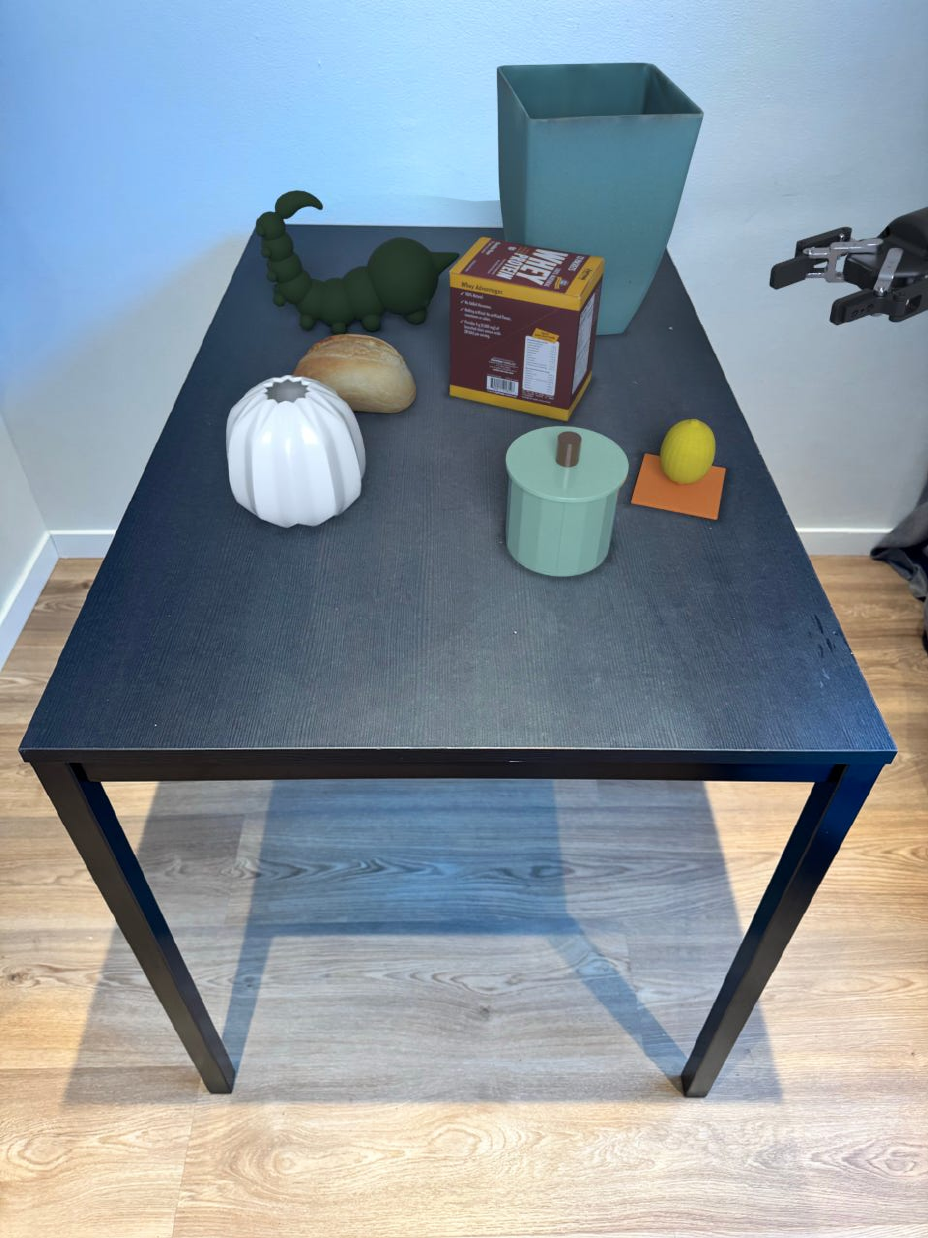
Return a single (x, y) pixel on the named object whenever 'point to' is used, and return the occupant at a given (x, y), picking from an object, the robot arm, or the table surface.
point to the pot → (558, 532)
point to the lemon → (687, 451)
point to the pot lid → (567, 464)
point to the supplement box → (523, 326)
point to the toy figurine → (349, 275)
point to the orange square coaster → (678, 490)
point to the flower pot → (595, 168)
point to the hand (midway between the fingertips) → (801, 295)
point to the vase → (294, 452)
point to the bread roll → (361, 372)
